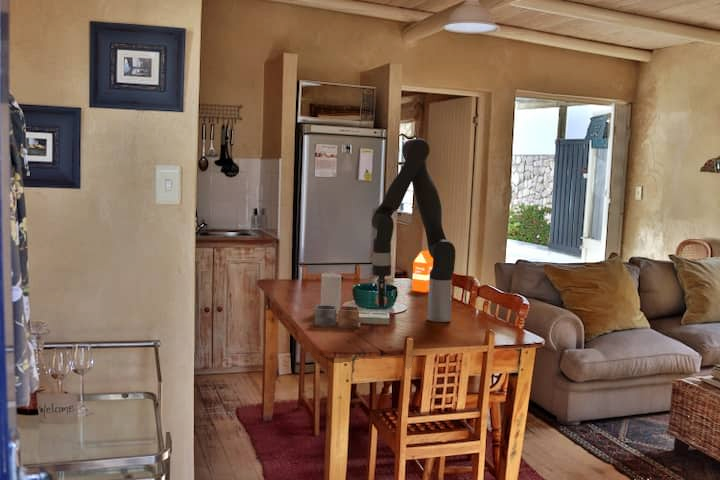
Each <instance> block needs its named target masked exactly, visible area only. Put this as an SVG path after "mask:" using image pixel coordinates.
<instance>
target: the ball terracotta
mask: <svg viewBox="0 0 720 480" xmlns="http://www.w3.org/2000/svg"><path fill="white" fill-rule="evenodd" d="M387 303H388V299H387V297H386V296H385V298H384V306H386V305H387ZM375 304H376V305H377V306H378V307H379V298H378V296H377V297H376V298H375Z"/></svg>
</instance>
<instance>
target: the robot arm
mask: <svg viewBox="0 0 720 480" xmlns="http://www.w3.org/2000/svg"><path fill="white" fill-rule="evenodd" d="M401 151H402V156H403V159H404V163H403V164H402V167H401V169H400V171H399V172H398V174H397V175H396V177H394V179H393V180H392V181H391V184H390V186H389V187H388V189H387V191H386V192H385V195H384V198H383V199H382V202H381V203H380V205H379V206H378V207H377V209H376V211H375V212H374V214H373V215H372V218H371V225H372V227H373V228H374V230H376V233H375V234H376V235H375V236H376V237H375V238H374V239H373V241H372V243H373V246H372V247H373V248H372V249H373V250H372V251H373V252H372V263H371V264H372V265H371V267H372V270H371V271H372V272H371V273H372V275H373V276H374V277H378V278H376V291H377V294H378V295H377V297H378V298H379V306H378V308H384V307H385V305H384V298H385V297H386V292H387V291H386V290H387V285H388V282H387V280H388V279H386V277H390V276H392V238H393V234H394V227H395V226H394V225H395V223H394V218H392V216H393V214H394V213H395V212H397V211H398V210H399V209H400V207H401V205H402V202H403V201H404V198H405V196H406V194H407V191H408V190H409V188H410V185H411V184H412V188H413V191H414V197H415V200H416V205H417V208H418V212H419V214H420V218H421V221H422V224H423V227H424V231H425V234H426V235H425V236H426V242H427V249H428V250H429V254H430V256H431V257H432V258H433V267H432V270H431V271H430V276H429V291H428V297H427V299H428V302H427V314H426V316H427V317H426V318H427V319H426V320H428V321H431V322H435V323H446V322H451V319H452V315H451V314H452V301H453V299H452V288H453V287H452V284H453V275H454V272H455V267H456V266H455V265H456V249H455V245H454V244H453V243H452V242H450V241H449V240H447V237H446V235H445V232H444V228H443V223H442V222H443V221H442V218H443V217H442V216H443V212H442V202H441V199H440V196H439V195H440V194H439V192H438V189H437V187H436V185H435V183H434V181H433V179H432V178H431V176H430V174H429V172H428V169H427V167H426V166H427V165H426V160H427V158H428V156H429V154H430V146H429V143H428V142H427V141H426V140H425V139H422V138H413V139H407V141H405V142H404V143H403V145H402V149H401Z"/></svg>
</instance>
